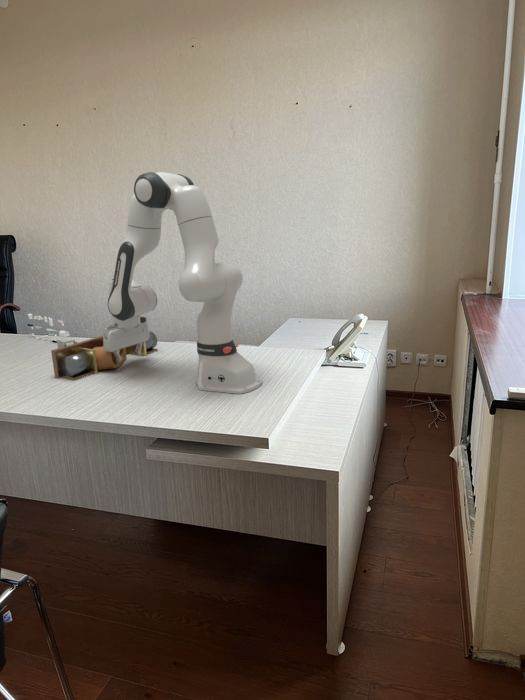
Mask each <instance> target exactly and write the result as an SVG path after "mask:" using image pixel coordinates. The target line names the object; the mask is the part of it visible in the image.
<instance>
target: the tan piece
mask: <svg viewBox="0 0 525 700" xmlns="http://www.w3.org/2000/svg"><path fill="white" fill-rule="evenodd" d="M93 349H94V350H95V353H96V361H97V370H98V371H101V370H102V371H103V370H110V369H117V368H118V367H120V366H121V365H122V364H123V363H124V362H125V361H126V359H127V355H126V348H123V349H120V352H119V355H120V356H122V359H123V360H122V361H120V362H117V361H116V357H115V355H114V354H113V352H107V351H105V350H104V347H95V348H93Z"/></svg>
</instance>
